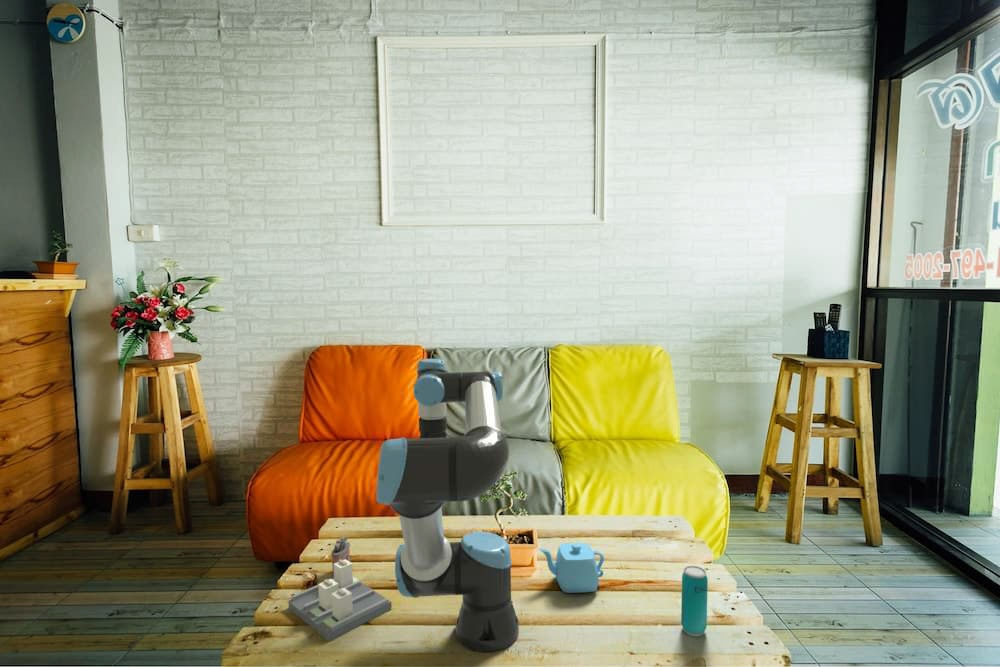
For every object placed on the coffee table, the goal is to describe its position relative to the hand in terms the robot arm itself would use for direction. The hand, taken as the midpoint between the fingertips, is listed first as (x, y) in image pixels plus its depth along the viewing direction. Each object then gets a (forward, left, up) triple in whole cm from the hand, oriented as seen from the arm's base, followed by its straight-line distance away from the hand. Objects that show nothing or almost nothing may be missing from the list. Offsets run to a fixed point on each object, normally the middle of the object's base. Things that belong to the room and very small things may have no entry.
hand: (434, 501), depth 155 cm
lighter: (+26, +14, -25) cm, 38 cm away
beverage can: (-61, -29, -25) cm, 72 cm away
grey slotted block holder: (+10, +24, -24) cm, 36 cm away
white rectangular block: (+10, +27, -22) cm, 36 cm away
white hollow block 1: (+16, +19, -22) cm, 33 cm away
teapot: (-27, -26, -25) cm, 45 cm away
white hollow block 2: (+4, +27, -22) cm, 35 cm away
